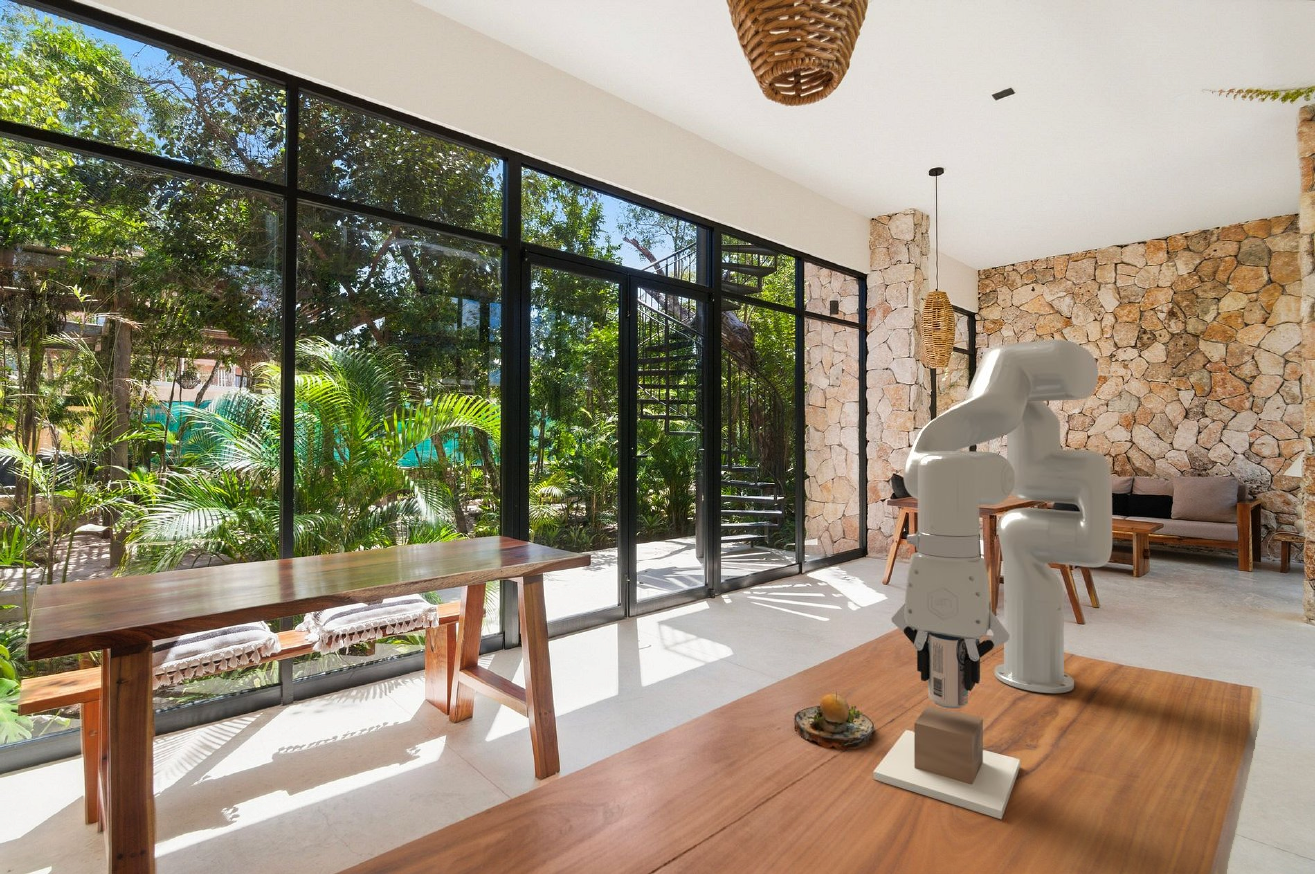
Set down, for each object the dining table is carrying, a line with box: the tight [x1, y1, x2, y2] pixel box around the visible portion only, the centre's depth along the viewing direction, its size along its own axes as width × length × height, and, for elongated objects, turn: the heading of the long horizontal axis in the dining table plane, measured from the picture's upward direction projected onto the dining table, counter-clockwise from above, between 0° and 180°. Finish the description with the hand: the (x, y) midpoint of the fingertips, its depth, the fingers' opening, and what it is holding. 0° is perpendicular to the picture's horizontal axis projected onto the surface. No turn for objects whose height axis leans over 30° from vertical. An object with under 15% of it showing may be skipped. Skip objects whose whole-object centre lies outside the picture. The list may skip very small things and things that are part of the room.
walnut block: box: [913, 704, 984, 785], centre depth 86 cm, size 7×7×6 cm
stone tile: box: [872, 729, 1021, 820], centre depth 86 cm, size 15×15×1 cm
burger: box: [793, 692, 875, 750], centre depth 99 cm, size 12×12×8 cm
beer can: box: [928, 632, 969, 709], centre depth 86 cm, size 5×5×12 cm
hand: (948, 681), depth 86 cm, fingers closed on beer can, 4 cm apart
